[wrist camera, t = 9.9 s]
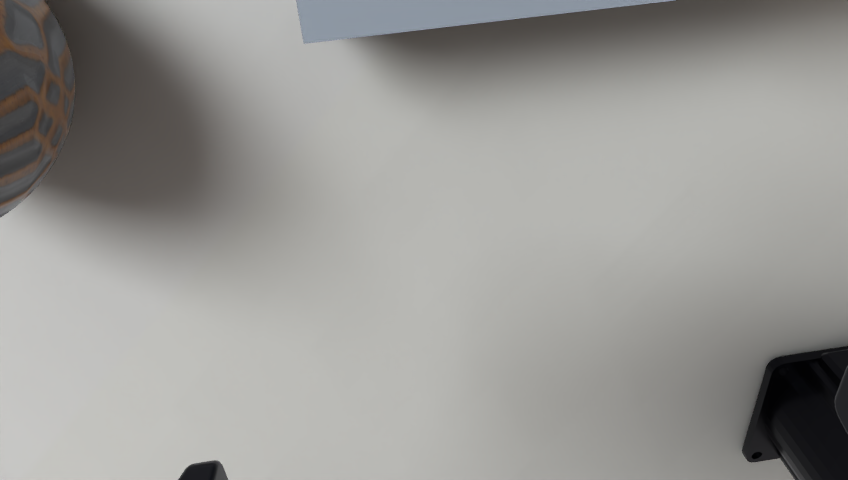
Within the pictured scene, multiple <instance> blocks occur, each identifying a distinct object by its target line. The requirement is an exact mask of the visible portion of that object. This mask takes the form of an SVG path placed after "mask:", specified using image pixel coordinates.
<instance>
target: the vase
mask: <svg viewBox="0 0 848 480" xmlns="http://www.w3.org/2000/svg"><path fill="white" fill-rule="evenodd" d="M74 102H75V78H74V69H73V63H72V58H71V54H70V50H69V47H68V44H67V41H66V39H65V36H64V34H63V31H62V29H61V27H60V25H59V23H58V21H57V20H56V18H55V16H54V14H53V13H52V11H51V9H50V8H49V6H48V5H47V3H46V2H45V1H44V0H0V217H2V216H3V215H5V214H7V213H8V212H9V211H11V210H12V209H13V208H15V207H16V206H17V205H18V204H19V203H20V202H22V201H23V200H24V199H25V198H26V197H27V196H28V195H29V194H30V193H31V192H32V191H33V190H34V189H35V188H36V187H37V185H38V184H39V183H40V182H41V181H42V179H43V178H44V177H45V175H46V174H47V173H48V171H49V170H50V168H51V166H52V165H53V163H54V161H55V160H56V158H57V156H58V155H59V153H60V151H61V148H62V146H63V144H64V142H65V139H66V137H67V135H68V132H69V129H70V126H71V122H72V117H73V110H74Z"/></svg>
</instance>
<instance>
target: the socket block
mask: <svg viewBox="0 0 848 480" xmlns="http://www.w3.org/2000/svg"><path fill="white" fill-rule="evenodd" d="M666 1H674V0H296V2H297V8H298V13H299V19H300V25H301V30H302V36H303V42H304V44H305V43H314V42H322V41H331V40H340V39H348V38H357V37H365V36H374V35H382V34H391V33H400V32H408V31H417V30H425V29H434V28H443V27H451V26H460V25H468V24H477V23H486V22H494V21H503V20H511V19H520V18H528V17H537V16H546V15H554V14H563V13H571V12H580V11H589V10H597V9H606V8H614V7H623V6H632V5H640V4H649V3H657V2H666Z"/></svg>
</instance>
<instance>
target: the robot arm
mask: <svg viewBox="0 0 848 480" xmlns="http://www.w3.org/2000/svg"><path fill="white" fill-rule="evenodd" d="M742 453H743V455H744V456H745V458H746V459H747V461H749V462H758V461H764V460H770V459H777V458H780V459H781V460H782V461H783V463H784V464H785V466H786V467H787V469H788V470H789V472H790V473H791V475H792V476H793V477H794V479H795V480H848V346H847V347H840V348H834V349H827V350H821V351H814V352H808V353H801V354H795V355H789V356H782V357H778V358H775V359H773V360H772V361H770V362H769V363H768V365H767V367H766V370H765V374H764V377H763V381H762V384H761V387H760V391H759V394H758V398H757V401H756V405H755V408H754V411H753V415H752V418H751V422H750V425H749V428H748V432H747V435H746V439H745V442H744V446H743V449H742ZM178 480H228V478H227V476H226V473H225V470H224V468H223V466H222V464H221V463H220V462H219V461H215V460H214V461H207V462H201V463H195V464H192V465H190V466H188V467H187V468H186V469H185V471H184V472H183V473H182V475H181V476H180V478H179V479H178Z"/></svg>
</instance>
